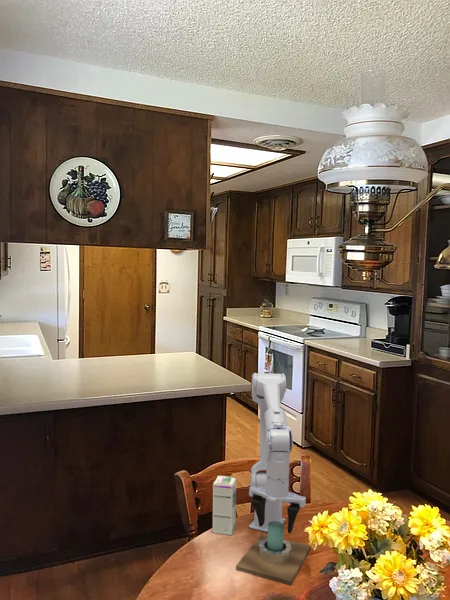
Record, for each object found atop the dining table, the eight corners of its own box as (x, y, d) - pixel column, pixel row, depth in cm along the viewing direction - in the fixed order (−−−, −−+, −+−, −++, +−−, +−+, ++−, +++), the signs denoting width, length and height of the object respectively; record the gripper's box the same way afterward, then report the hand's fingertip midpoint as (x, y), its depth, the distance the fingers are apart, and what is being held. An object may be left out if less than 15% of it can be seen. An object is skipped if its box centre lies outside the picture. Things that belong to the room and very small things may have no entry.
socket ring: (265, 544, 137) (265, 535, 137) (294, 551, 134) (294, 542, 134) (254, 559, 130) (255, 549, 130) (285, 567, 126) (285, 557, 126)
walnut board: (261, 536, 143) (261, 533, 143) (310, 549, 137) (310, 545, 137) (235, 569, 126) (236, 565, 126) (290, 585, 121) (290, 581, 121)
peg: (270, 549, 134) (271, 519, 134) (284, 553, 133) (285, 523, 132) (264, 557, 131) (265, 526, 130) (279, 561, 129) (280, 530, 129)
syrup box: (232, 535, 143) (233, 484, 142) (211, 533, 144) (212, 482, 144) (235, 526, 149) (237, 476, 148) (215, 523, 150) (217, 474, 149)
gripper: (245, 476, 130) (243, 528, 131) (300, 487, 124) (298, 542, 125) (255, 466, 137) (253, 516, 137) (308, 477, 131) (306, 529, 131)
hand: (275, 528), depth 132 cm, fingers open, 7 cm apart
